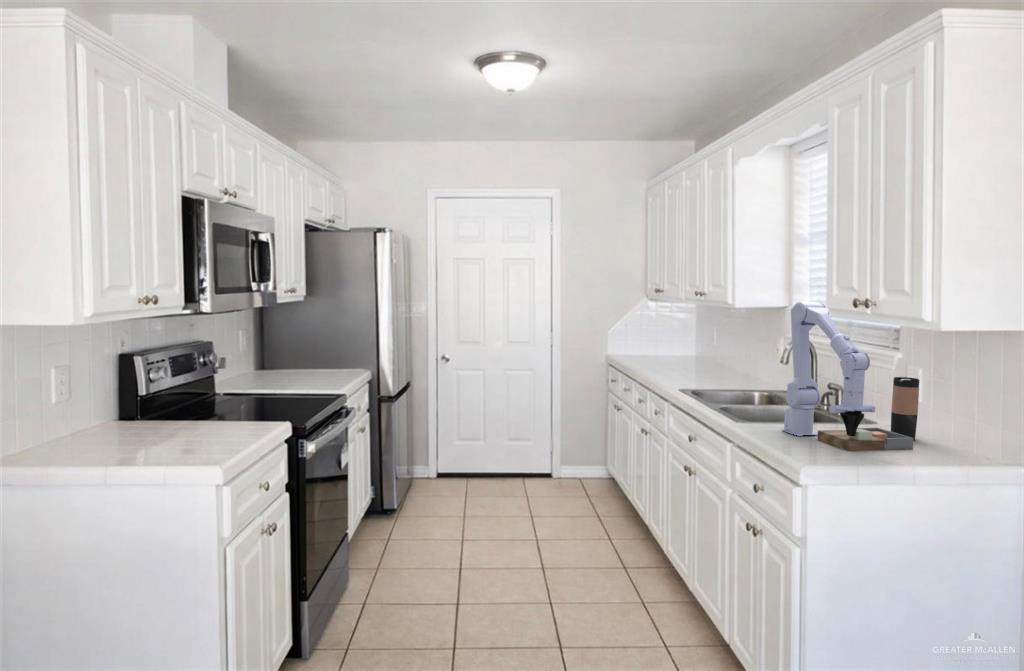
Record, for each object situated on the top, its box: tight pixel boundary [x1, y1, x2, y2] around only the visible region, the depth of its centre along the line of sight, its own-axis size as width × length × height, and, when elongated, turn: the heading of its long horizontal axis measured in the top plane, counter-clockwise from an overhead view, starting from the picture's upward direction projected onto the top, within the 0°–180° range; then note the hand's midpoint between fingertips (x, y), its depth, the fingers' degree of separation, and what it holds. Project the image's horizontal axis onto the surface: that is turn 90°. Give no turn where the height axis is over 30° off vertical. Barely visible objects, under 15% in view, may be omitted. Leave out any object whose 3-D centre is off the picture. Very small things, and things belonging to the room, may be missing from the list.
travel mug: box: [890, 376, 920, 442], centre depth 241 cm, size 8×8×20 cm
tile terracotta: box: [872, 431, 888, 440], centre depth 236 cm, size 4×4×2 cm
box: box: [857, 427, 914, 451], centre depth 233 cm, size 16×10×4 cm, turn 12°
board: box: [817, 429, 885, 452], centre depth 230 cm, size 16×12×3 cm
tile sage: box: [849, 429, 872, 440], centre depth 226 cm, size 4×4×2 cm
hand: (850, 435), depth 225 cm, fingers closed
